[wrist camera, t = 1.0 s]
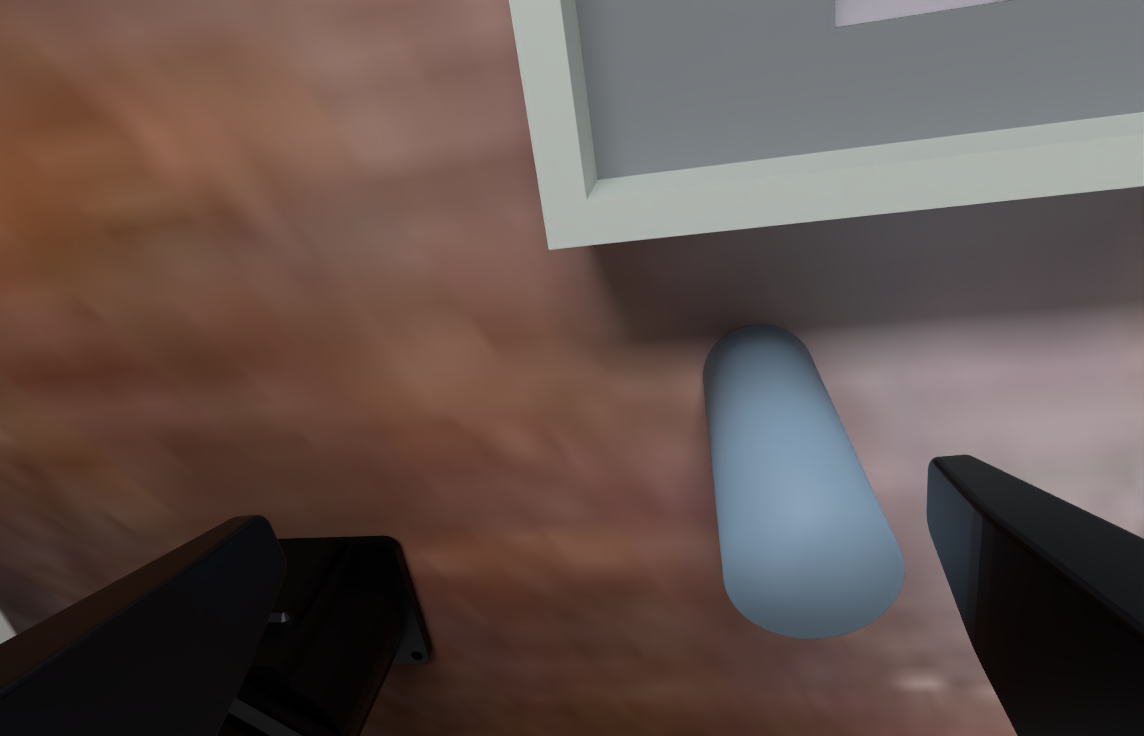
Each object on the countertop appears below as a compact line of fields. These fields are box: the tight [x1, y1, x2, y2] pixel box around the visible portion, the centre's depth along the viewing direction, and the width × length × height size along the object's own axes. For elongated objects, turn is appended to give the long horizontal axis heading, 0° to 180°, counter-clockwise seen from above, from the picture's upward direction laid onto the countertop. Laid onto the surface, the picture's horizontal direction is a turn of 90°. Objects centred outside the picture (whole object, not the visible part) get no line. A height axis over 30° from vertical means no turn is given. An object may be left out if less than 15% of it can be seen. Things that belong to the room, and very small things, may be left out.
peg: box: [703, 325, 904, 639], centre depth 17 cm, size 3×3×9 cm
